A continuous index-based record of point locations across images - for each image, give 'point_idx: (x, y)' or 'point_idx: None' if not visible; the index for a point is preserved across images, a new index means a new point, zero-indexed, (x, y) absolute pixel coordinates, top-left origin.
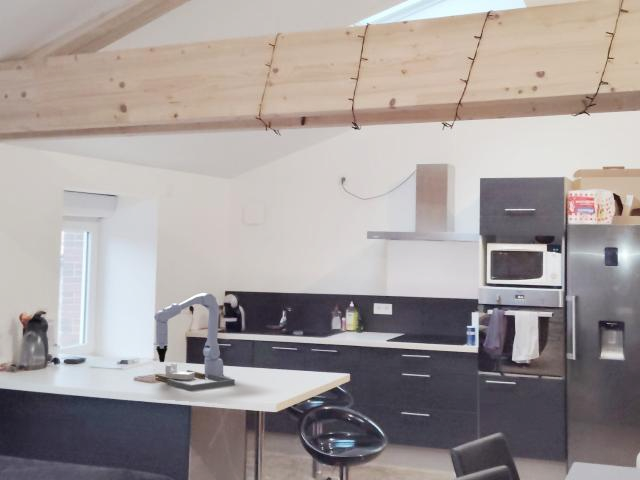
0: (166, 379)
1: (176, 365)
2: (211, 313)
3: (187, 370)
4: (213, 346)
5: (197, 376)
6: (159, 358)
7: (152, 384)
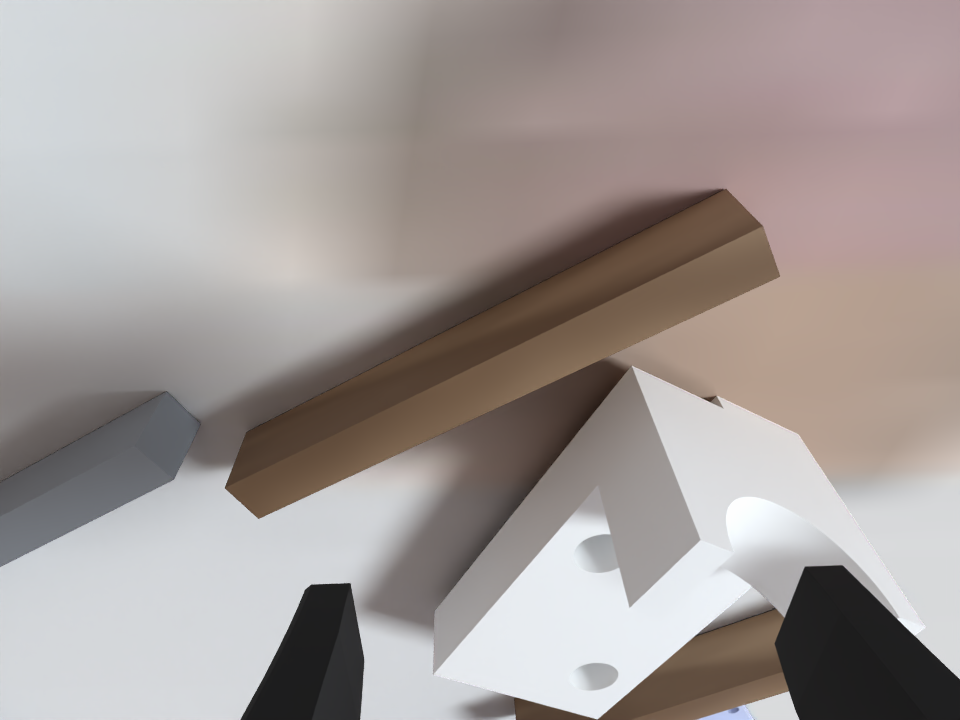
0: (355, 403)
1: None
2: None
3: None
4: None
5: None
6: (259, 698)
7: (150, 151)
